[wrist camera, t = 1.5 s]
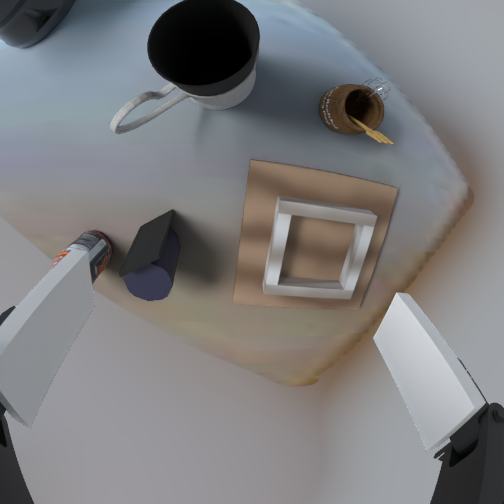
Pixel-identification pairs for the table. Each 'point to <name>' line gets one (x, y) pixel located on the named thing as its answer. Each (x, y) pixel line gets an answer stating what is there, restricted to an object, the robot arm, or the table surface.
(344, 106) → the utensil holder
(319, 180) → the socket plate
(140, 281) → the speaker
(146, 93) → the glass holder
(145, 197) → the table surface
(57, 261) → the supplement bottle
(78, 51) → the table surface
